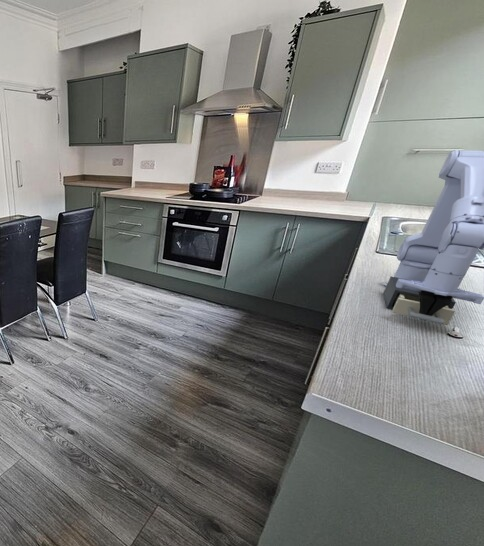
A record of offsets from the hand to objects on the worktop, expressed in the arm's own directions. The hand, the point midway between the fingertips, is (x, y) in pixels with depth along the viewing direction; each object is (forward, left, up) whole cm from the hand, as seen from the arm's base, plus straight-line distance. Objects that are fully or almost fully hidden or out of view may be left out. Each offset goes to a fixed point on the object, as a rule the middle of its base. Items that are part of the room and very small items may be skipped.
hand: (422, 318), depth 81 cm
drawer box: (-9, -10, -2) cm, 13 cm away
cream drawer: (-4, -4, -1) cm, 6 cm away
